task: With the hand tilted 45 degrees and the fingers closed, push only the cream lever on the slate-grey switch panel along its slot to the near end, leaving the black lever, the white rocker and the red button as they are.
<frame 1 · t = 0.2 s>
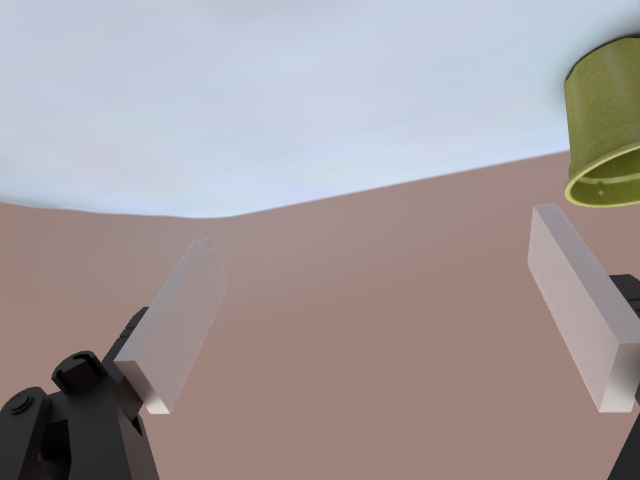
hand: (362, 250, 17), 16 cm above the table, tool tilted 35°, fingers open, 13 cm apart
plant pot: (612, 66, 29), on the table
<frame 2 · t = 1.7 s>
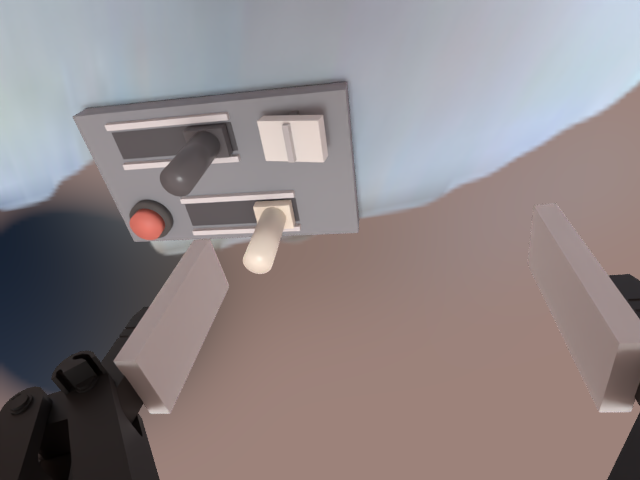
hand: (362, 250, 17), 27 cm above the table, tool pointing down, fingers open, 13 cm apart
rocker: (292, 140, 38), point 5 cm above the table, hinge at -12.0°
panel: (229, 167, 46), on the table
cream lever: (267, 235, 42), point 7 cm above the table, slide at 0.0 cm
black lever: (194, 159, 37), point 7 cm above the table, slide at 0.0 cm
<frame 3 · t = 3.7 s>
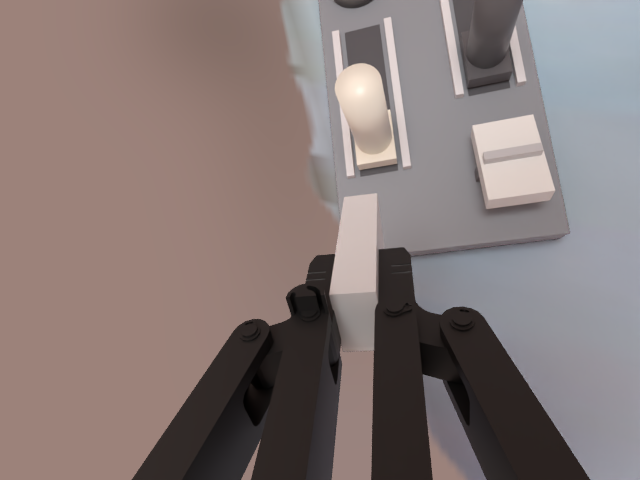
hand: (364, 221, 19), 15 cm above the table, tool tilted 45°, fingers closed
rocker: (510, 159, 28), point 5 cm above the table, hinge at -12.0°
panel: (424, 91, 35), on the table
cream lever: (368, 118, 28), point 7 cm above the table, slide at 0.0 cm
black lever: (493, 22, 27), point 7 cm above the table, slide at 0.0 cm
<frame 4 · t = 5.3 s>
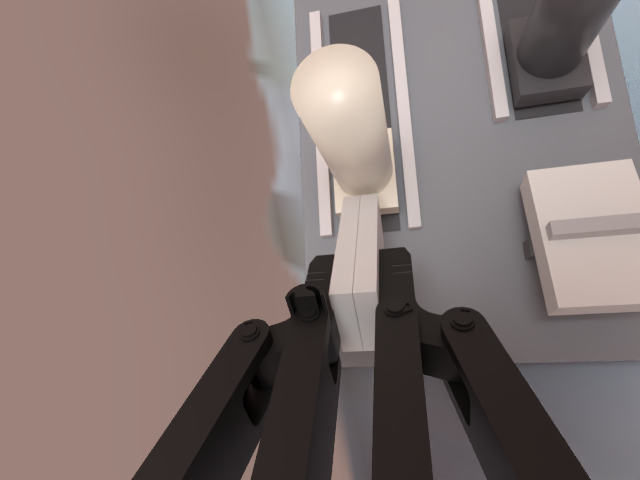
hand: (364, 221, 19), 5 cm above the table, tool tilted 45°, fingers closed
rocker: (593, 233, 16), point 5 cm above the table, hinge at -12.0°
panel: (443, 108, 24), on the table
cream lever: (354, 143, 17), point 7 cm above the table, slide at 0.4 cm, touching gripper
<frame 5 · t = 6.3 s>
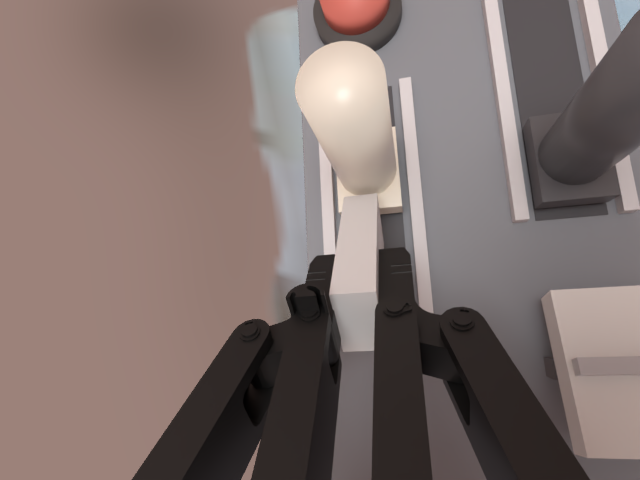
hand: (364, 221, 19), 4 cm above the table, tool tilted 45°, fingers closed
rocker: (622, 367, 15), point 5 cm above the table, hinge at -12.0°
panel: (456, 192, 22), on the table
cream lever: (358, 142, 17), point 7 cm above the table, slide at 5.5 cm, touching gripper
black lever: (607, 120, 15), point 7 cm above the table, slide at 0.0 cm
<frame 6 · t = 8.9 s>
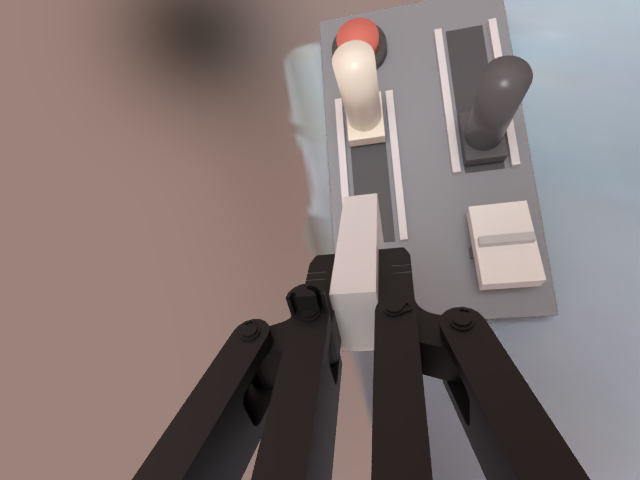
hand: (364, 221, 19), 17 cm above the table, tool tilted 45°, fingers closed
rocker: (504, 243, 29), point 5 cm above the table, hinge at -12.0°
panel: (422, 160, 36), on the table
cream lever: (360, 95, 31), point 7 cm above the table, slide at 8.0 cm
black lever: (491, 113, 28), point 7 cm above the table, slide at 0.0 cm
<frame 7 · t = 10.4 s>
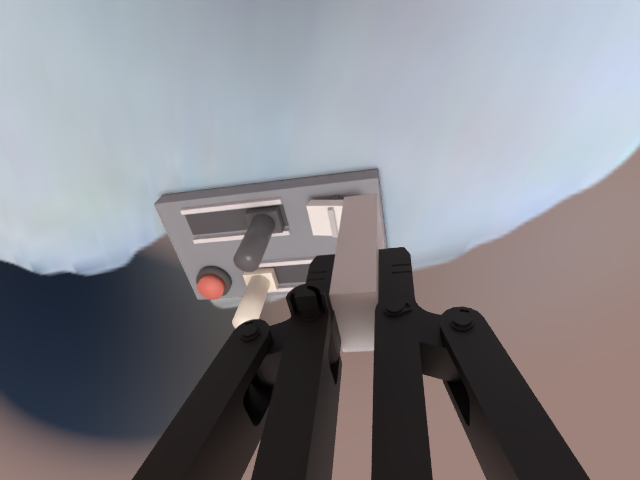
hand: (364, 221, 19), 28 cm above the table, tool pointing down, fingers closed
rocker: (335, 219, 46), point 5 cm above the table, hinge at -12.0°
panel: (279, 236, 54), on the table
cream lever: (253, 299, 51), point 7 cm above the table, slide at 8.0 cm
black lever: (257, 238, 46), point 7 cm above the table, slide at 0.0 cm
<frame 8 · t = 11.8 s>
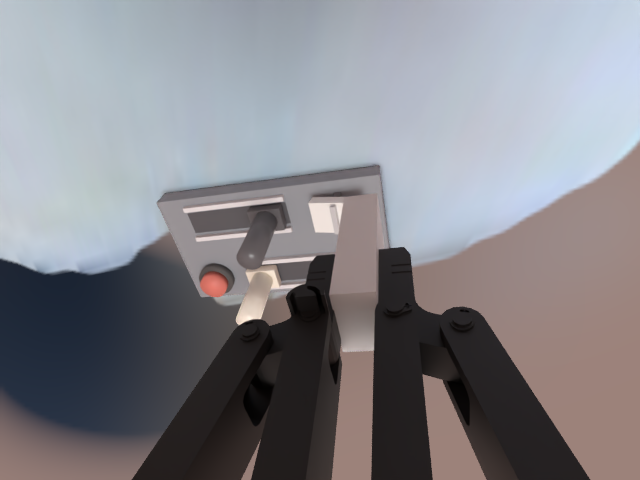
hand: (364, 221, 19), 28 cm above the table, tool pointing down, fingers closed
rocker: (337, 216, 46), point 5 cm above the table, hinge at -12.0°
panel: (281, 233, 55), on the table
cream lever: (256, 296, 52), point 7 cm above the table, slide at 8.0 cm
black lever: (259, 236, 46), point 7 cm above the table, slide at 0.0 cm
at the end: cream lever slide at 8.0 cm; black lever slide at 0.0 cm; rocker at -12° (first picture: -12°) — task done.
